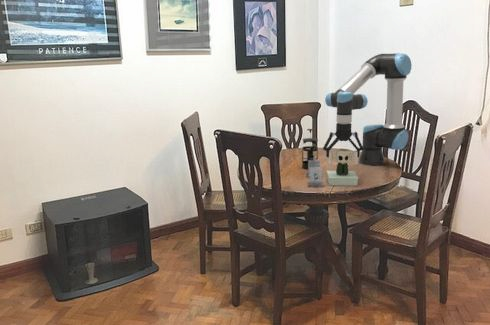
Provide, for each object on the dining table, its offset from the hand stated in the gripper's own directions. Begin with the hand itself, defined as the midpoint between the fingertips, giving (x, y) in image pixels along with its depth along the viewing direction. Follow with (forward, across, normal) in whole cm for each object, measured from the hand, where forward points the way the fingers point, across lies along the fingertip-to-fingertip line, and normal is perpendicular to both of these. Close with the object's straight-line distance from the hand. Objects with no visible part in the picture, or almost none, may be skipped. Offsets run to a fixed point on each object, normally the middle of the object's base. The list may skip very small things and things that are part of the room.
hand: (342, 163), depth 234 cm
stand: (+10, 0, 0) cm, 10 cm away
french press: (+10, +15, -30) cm, 35 cm away
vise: (+10, +14, -2) cm, 17 cm away
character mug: (+6, 0, 0) cm, 6 cm away
